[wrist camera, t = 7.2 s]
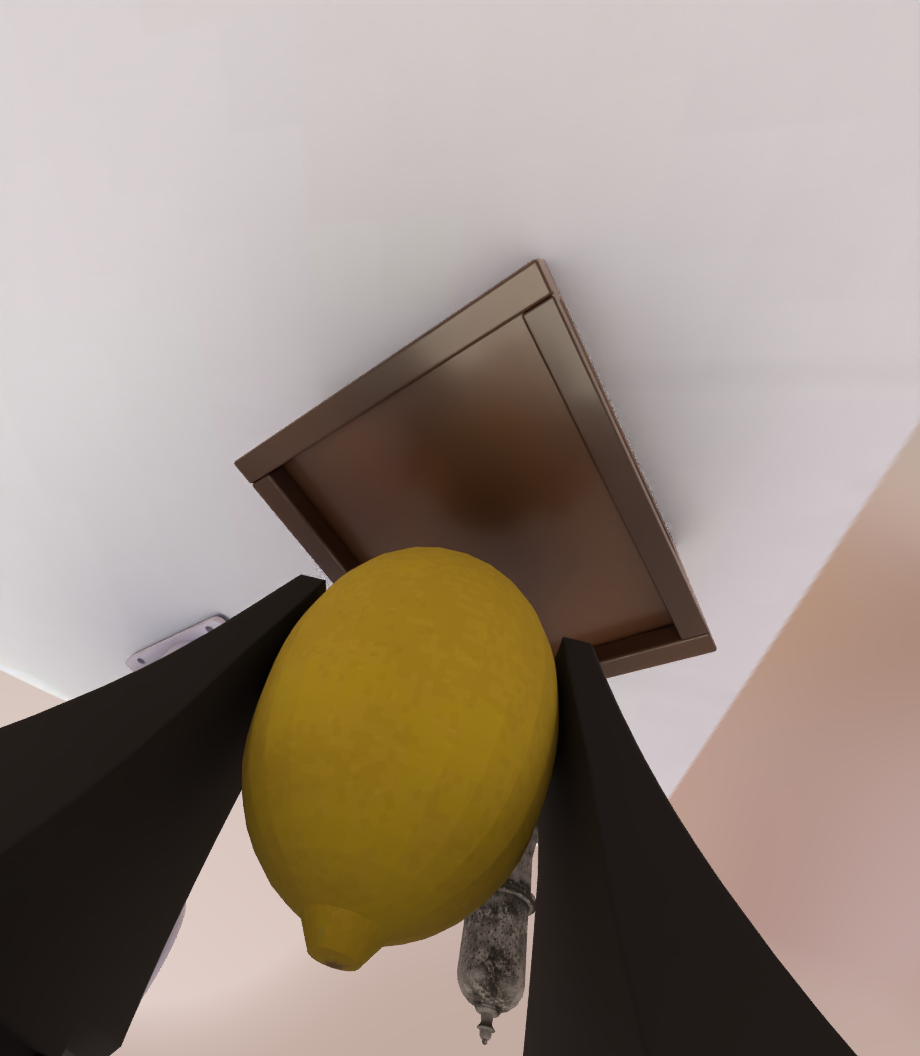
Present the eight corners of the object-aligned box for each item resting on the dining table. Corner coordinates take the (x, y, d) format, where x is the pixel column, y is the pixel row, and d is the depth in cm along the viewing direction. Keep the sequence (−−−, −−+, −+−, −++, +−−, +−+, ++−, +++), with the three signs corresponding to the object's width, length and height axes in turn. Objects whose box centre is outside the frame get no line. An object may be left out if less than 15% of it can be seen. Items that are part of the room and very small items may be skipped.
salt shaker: (452, 761, 29) (394, 1033, 19) (481, 707, 26) (431, 999, 16) (539, 793, 29) (528, 1082, 19) (578, 742, 26) (592, 1057, 16)
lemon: (397, 660, 14) (256, 1014, 8) (327, 507, 12) (26, 833, 5) (575, 646, 13) (594, 1083, 6) (535, 467, 10) (493, 864, 4)
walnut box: (469, 619, 23) (445, 719, 18) (318, 409, 18) (232, 463, 13) (675, 548, 19) (718, 651, 14) (543, 258, 14) (536, 257, 9)
